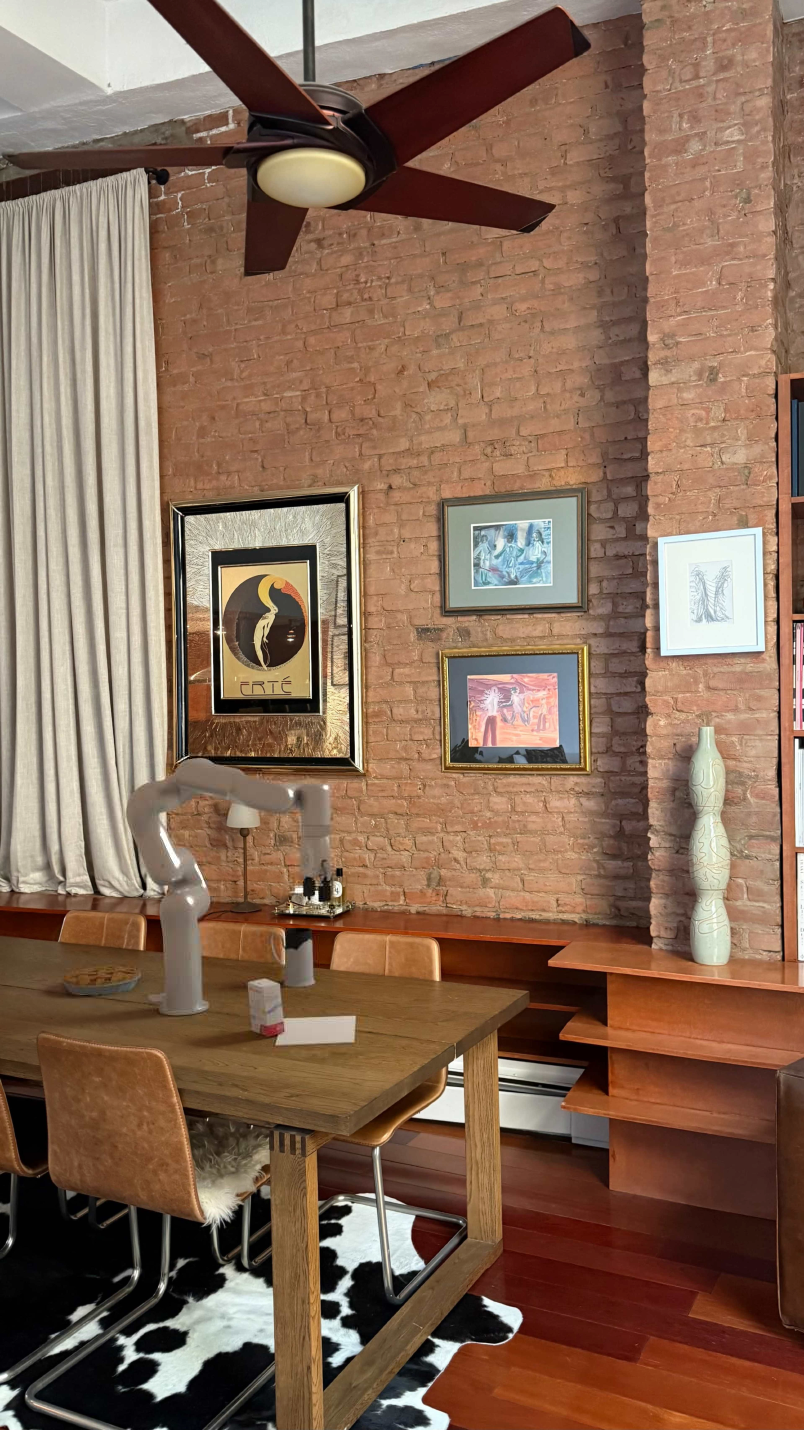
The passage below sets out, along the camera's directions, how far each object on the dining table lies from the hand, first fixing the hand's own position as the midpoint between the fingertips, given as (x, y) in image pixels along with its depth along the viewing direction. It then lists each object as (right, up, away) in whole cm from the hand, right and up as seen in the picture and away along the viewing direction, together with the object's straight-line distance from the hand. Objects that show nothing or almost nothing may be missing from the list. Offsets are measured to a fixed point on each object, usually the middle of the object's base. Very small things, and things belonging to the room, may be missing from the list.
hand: (316, 898), depth 278 cm
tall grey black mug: (-10, -29, +32) cm, 45 cm away
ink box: (-10, -29, -18) cm, 35 cm away
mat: (+1, -29, -17) cm, 33 cm away
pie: (-64, -31, +33) cm, 78 cm away
